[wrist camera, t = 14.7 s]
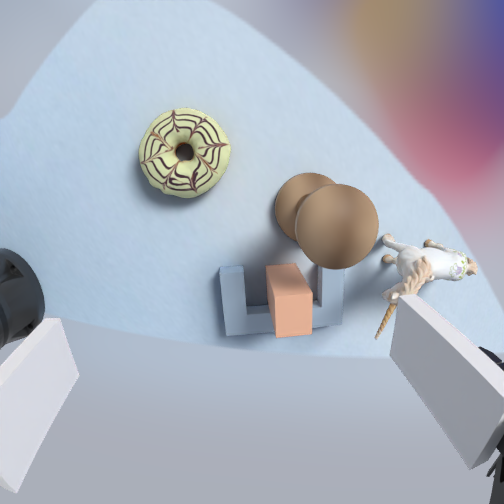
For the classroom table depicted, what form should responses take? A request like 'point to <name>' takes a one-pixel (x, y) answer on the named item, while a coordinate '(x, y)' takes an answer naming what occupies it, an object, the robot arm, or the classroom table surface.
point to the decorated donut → (184, 172)
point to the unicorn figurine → (422, 269)
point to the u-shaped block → (259, 317)
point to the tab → (289, 300)
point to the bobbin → (327, 220)
